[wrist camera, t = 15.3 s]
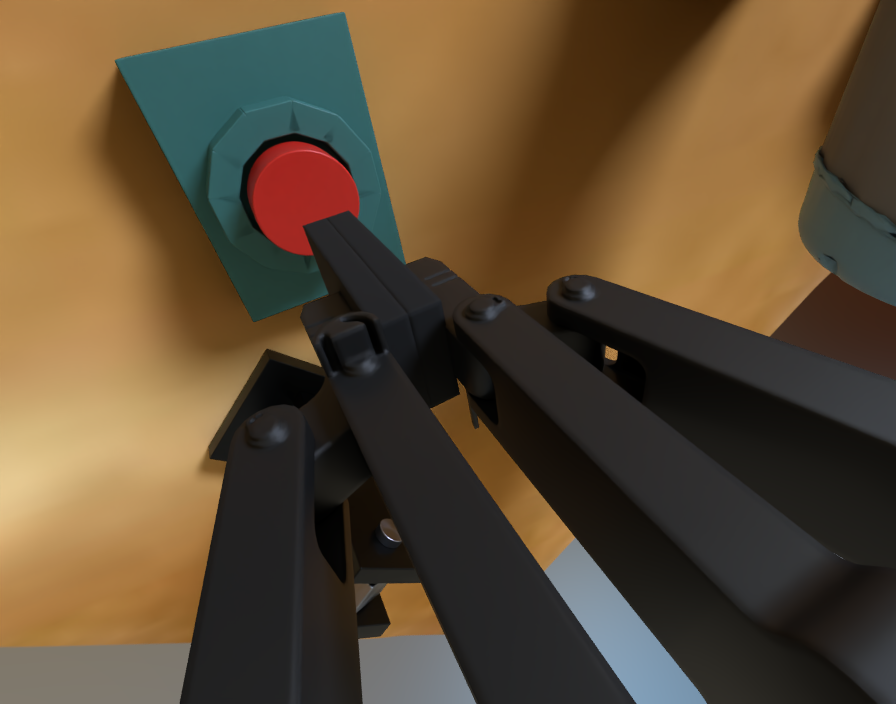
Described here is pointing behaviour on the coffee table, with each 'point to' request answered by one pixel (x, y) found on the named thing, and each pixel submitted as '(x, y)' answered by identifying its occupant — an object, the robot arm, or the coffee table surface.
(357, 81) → the button box
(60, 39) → the coffee table surface
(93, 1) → the coffee table surface
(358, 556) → the bracket
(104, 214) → the coffee table surface
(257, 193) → the button
